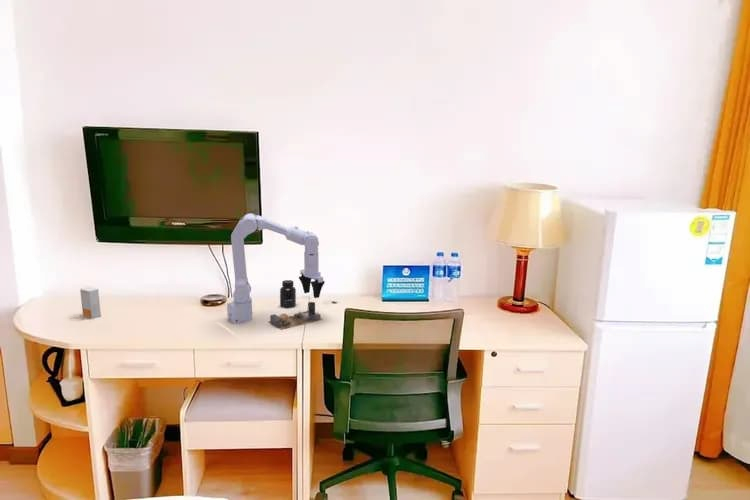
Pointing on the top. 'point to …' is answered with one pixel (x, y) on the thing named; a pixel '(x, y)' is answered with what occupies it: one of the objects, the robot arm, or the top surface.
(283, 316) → the tan wooden ball
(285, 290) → the supplement bottle
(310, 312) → the ram
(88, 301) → the skincare box
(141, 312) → the top surface
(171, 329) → the top surface
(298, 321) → the bench
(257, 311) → the top surface
